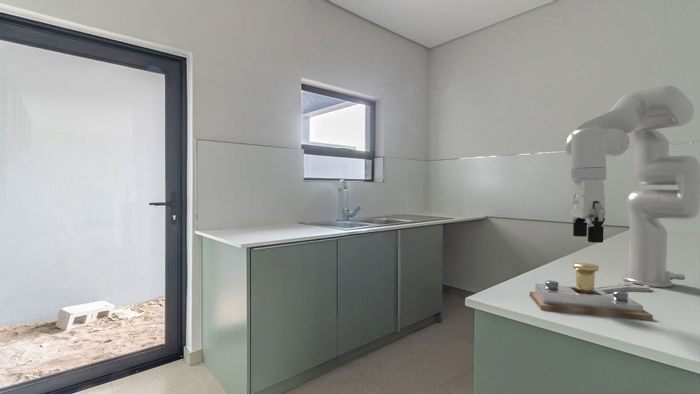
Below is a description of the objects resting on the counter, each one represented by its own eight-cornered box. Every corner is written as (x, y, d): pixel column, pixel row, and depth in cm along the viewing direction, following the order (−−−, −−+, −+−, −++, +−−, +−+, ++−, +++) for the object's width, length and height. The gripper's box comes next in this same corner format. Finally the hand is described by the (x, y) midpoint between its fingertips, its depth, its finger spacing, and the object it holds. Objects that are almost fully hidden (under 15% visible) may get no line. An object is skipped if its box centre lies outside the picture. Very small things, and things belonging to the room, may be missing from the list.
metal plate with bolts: (625, 301, 89) (626, 283, 89) (642, 311, 81) (643, 292, 81) (535, 293, 95) (535, 277, 95) (543, 303, 87) (543, 285, 87)
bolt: (592, 299, 90) (593, 263, 90) (601, 306, 85) (602, 268, 85) (568, 297, 92) (569, 262, 92) (576, 304, 87) (577, 266, 86)
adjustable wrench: (584, 297, 98) (584, 291, 98) (566, 290, 104) (567, 284, 104) (653, 292, 102) (653, 286, 102) (632, 286, 109) (632, 280, 109)
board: (626, 303, 91) (626, 299, 91) (652, 320, 79) (652, 315, 79) (529, 295, 97) (529, 291, 97) (541, 309, 86) (541, 305, 86)
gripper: (560, 176, 97) (560, 234, 97) (585, 174, 80) (584, 244, 81) (590, 175, 95) (589, 234, 95) (621, 174, 78) (620, 245, 79)
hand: (587, 239), depth 88 cm, fingers open, 9 cm apart
